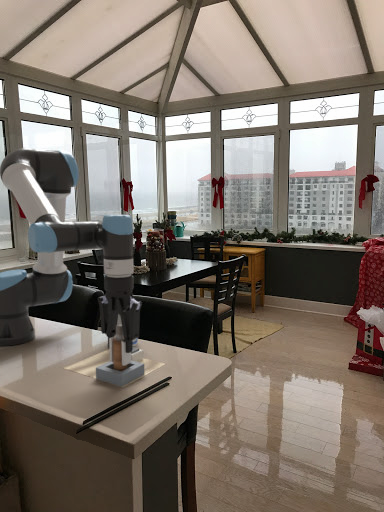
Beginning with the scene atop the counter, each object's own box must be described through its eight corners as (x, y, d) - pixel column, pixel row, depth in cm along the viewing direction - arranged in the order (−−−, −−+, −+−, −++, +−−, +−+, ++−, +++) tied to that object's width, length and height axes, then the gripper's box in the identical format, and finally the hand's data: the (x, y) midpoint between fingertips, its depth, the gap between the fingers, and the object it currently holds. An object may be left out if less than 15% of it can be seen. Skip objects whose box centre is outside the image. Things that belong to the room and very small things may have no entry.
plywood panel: (63, 371, 115) (63, 368, 114) (109, 352, 130) (108, 349, 130) (123, 391, 103) (123, 387, 103) (165, 367, 118) (165, 363, 118)
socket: (96, 378, 108) (95, 367, 108) (119, 367, 115) (119, 356, 115) (121, 386, 103) (121, 375, 103) (144, 374, 111) (144, 363, 110)
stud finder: (114, 360, 121) (113, 348, 120) (125, 354, 125) (125, 343, 124) (132, 365, 117) (132, 353, 116) (143, 359, 121) (143, 348, 121)
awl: (120, 372, 112) (119, 322, 110) (130, 375, 110) (129, 325, 108) (110, 377, 109) (109, 326, 107) (121, 380, 107) (120, 328, 105)
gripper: (84, 273, 107) (87, 360, 110) (134, 280, 98) (135, 373, 101) (105, 270, 113) (107, 351, 116) (153, 275, 105) (154, 364, 107)
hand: (120, 361), depth 109 cm, fingers closed on awl, 4 cm apart
